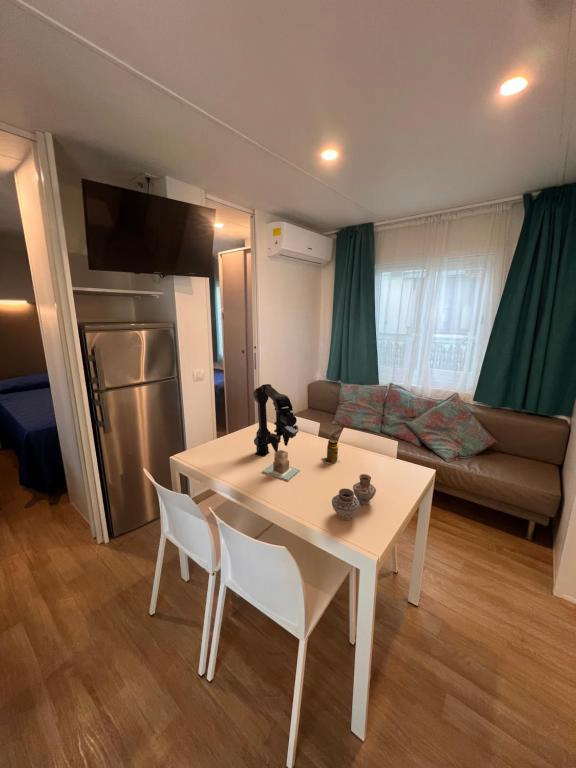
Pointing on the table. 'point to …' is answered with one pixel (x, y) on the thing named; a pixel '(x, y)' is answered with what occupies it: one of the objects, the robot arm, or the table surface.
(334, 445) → the condiment
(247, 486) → the table surface
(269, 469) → the base board
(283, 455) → the oak cube
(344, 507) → the pottery
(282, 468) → the walnut block
